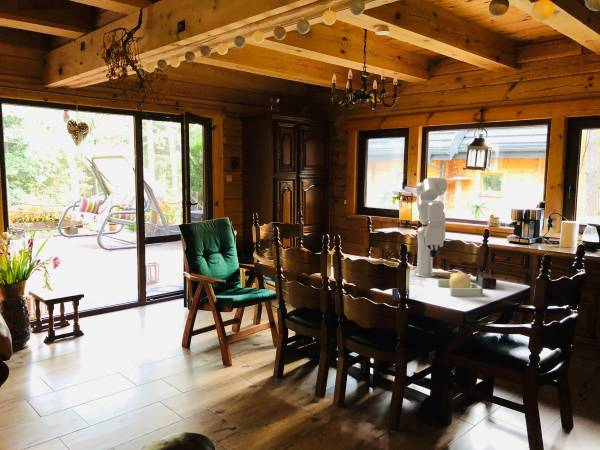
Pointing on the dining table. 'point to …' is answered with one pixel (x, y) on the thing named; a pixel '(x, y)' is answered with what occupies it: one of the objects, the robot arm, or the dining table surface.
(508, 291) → the dining table surface
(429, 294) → the dining table surface
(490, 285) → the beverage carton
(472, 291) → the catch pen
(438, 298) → the dining table surface
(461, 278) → the pale yellow ball
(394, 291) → the flask
